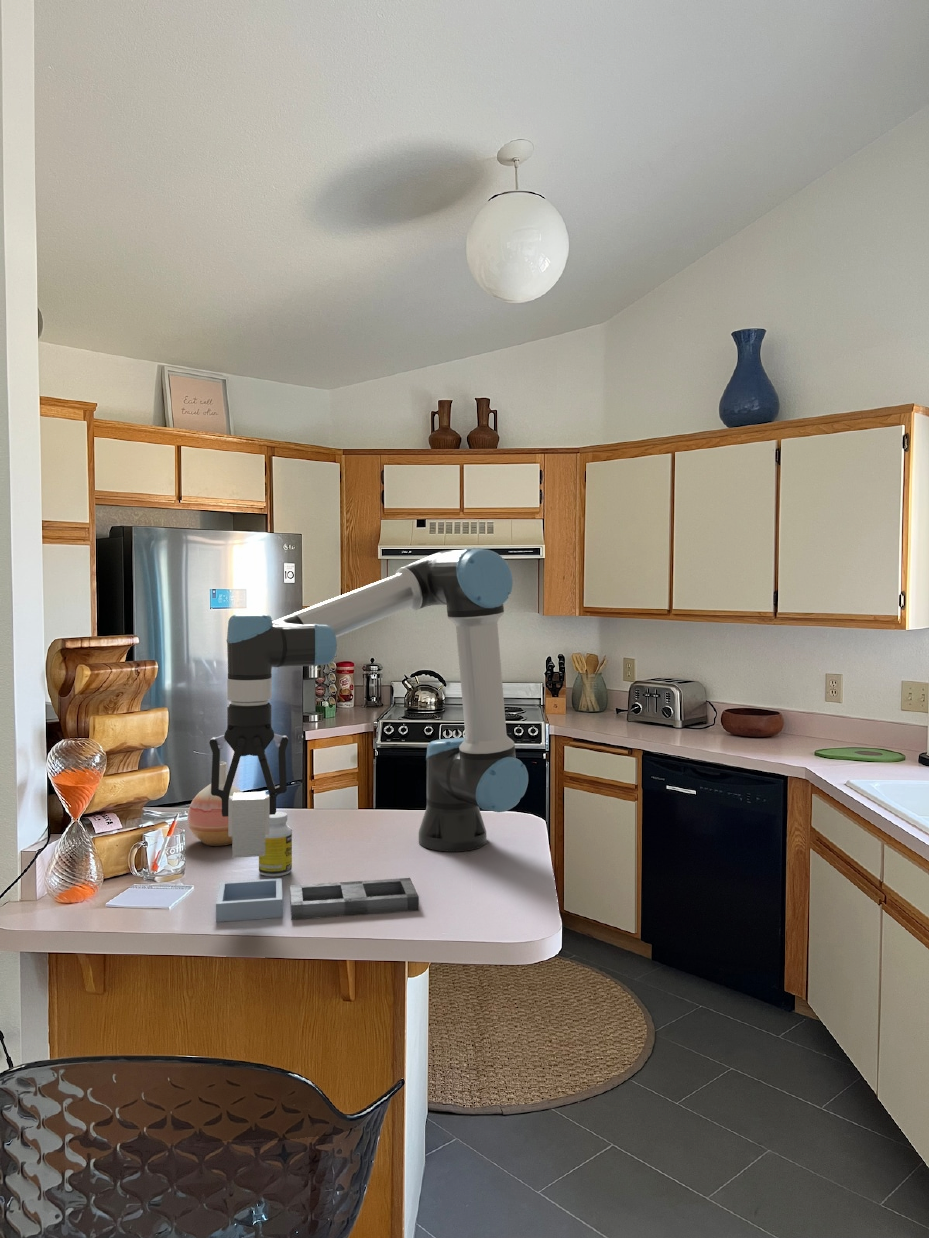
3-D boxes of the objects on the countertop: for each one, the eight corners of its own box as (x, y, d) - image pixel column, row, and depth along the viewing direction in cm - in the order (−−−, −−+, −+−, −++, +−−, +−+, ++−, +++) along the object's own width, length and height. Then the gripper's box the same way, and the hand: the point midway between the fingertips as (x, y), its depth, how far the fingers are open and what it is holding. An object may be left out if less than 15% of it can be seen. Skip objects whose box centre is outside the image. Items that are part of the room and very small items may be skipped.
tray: (281, 894, 163) (281, 878, 163) (282, 917, 152) (282, 899, 152) (219, 898, 161) (219, 882, 161) (216, 921, 150) (215, 903, 150)
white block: (265, 846, 159) (265, 791, 159) (265, 855, 154) (265, 798, 154) (233, 848, 158) (233, 792, 158) (232, 857, 153) (232, 800, 152)
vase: (218, 855, 186) (217, 772, 185) (174, 844, 193) (173, 764, 193) (264, 839, 198) (264, 761, 197) (221, 830, 205) (221, 754, 204)
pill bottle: (284, 879, 172) (284, 819, 171) (253, 876, 173) (252, 817, 173) (297, 868, 178) (297, 811, 178) (267, 866, 180) (266, 809, 179)
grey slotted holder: (410, 890, 166) (410, 877, 166) (418, 910, 156) (418, 896, 156) (290, 899, 161) (290, 885, 161) (291, 919, 151) (291, 905, 151)
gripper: (302, 698, 161) (301, 825, 162) (196, 700, 157) (196, 830, 158) (304, 704, 153) (303, 836, 154) (192, 706, 149) (192, 842, 150)
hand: (249, 833), depth 156 cm, fingers closed on white block, 5 cm apart
